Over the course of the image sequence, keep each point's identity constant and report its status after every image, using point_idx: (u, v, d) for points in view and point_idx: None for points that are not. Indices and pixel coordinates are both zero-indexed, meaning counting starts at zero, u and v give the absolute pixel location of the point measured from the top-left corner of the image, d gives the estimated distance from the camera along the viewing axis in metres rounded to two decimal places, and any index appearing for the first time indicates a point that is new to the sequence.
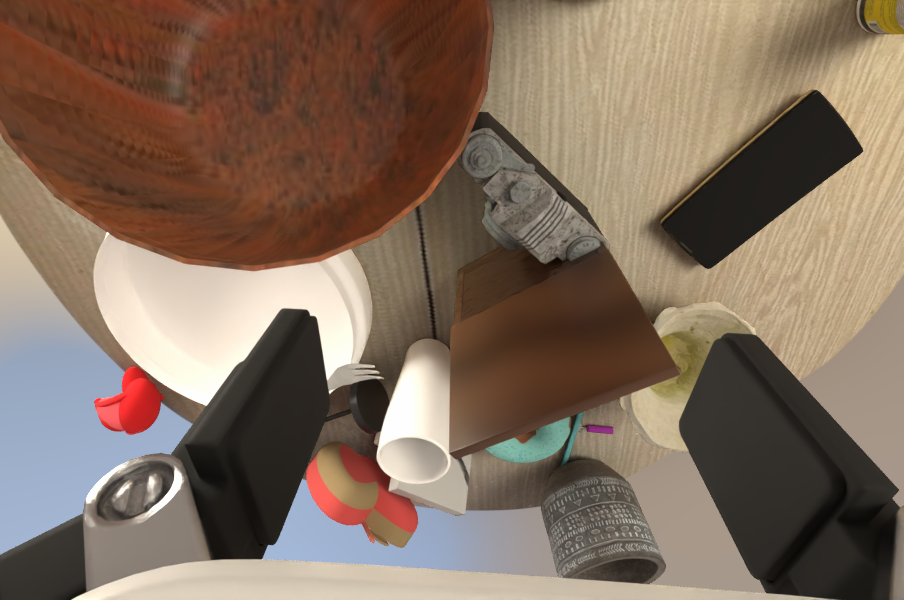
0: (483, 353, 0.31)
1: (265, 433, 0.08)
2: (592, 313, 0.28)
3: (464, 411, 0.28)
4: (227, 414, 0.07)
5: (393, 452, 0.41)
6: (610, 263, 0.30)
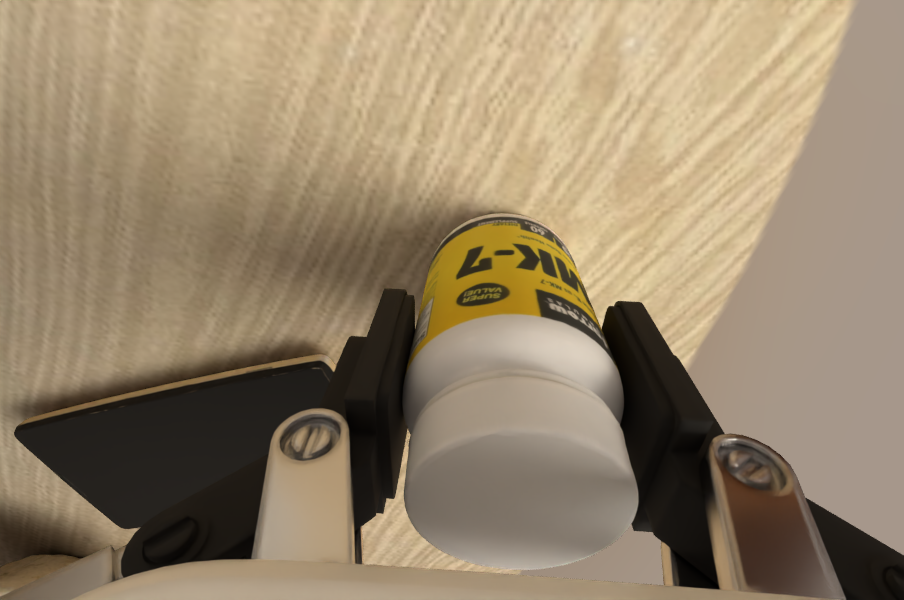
0: None
1: (395, 395, 0.08)
2: None
3: None
4: (371, 376, 0.08)
5: None
6: None
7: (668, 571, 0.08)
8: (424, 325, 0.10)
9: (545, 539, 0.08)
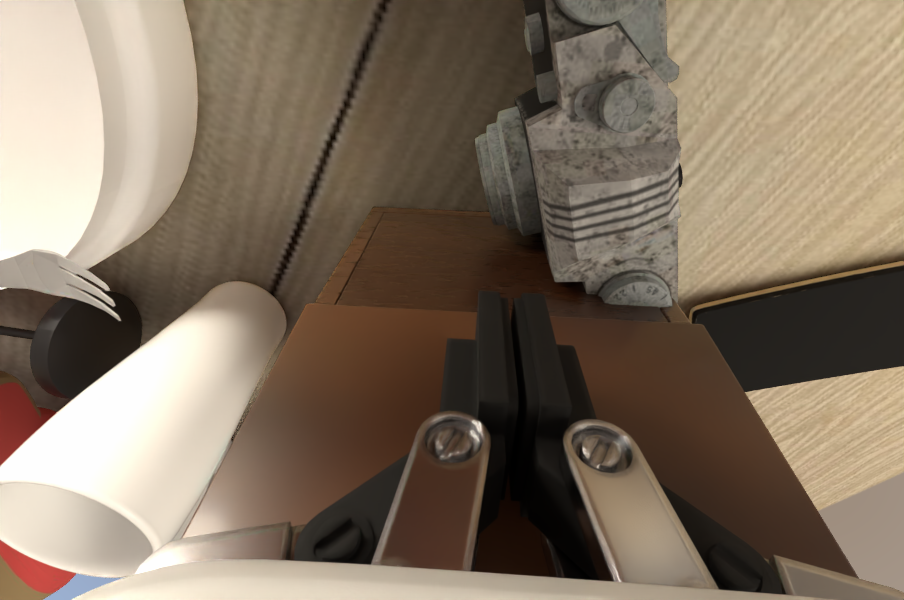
0: (355, 423, 0.11)
1: None
2: (680, 474, 0.10)
3: None
4: (497, 378, 0.08)
5: None
6: (713, 359, 0.13)
7: (553, 570, 0.08)
8: None
9: None
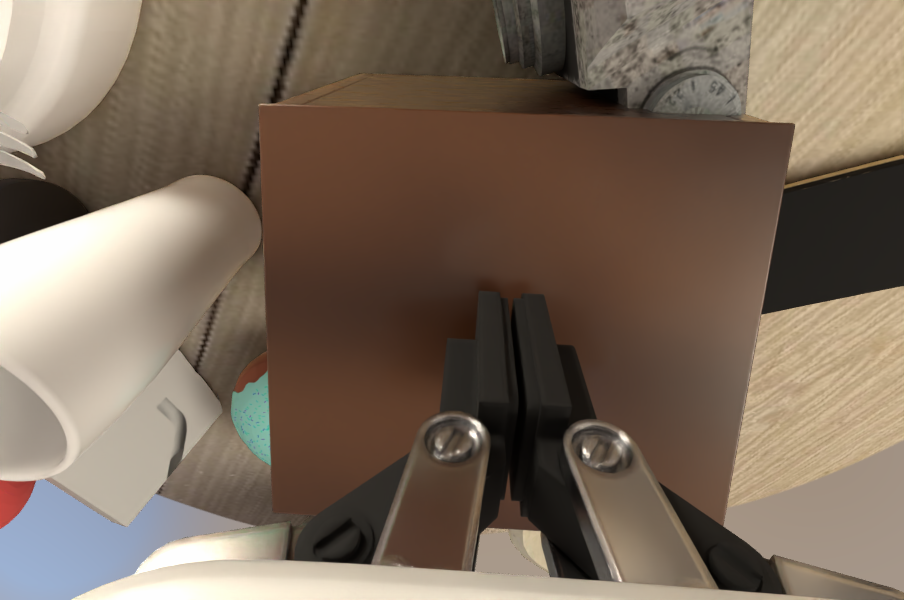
0: (366, 293, 0.12)
1: None
2: (654, 339, 0.12)
3: (308, 436, 0.13)
4: (497, 378, 0.08)
5: None
6: (768, 194, 0.11)
7: (553, 570, 0.08)
8: None
9: None
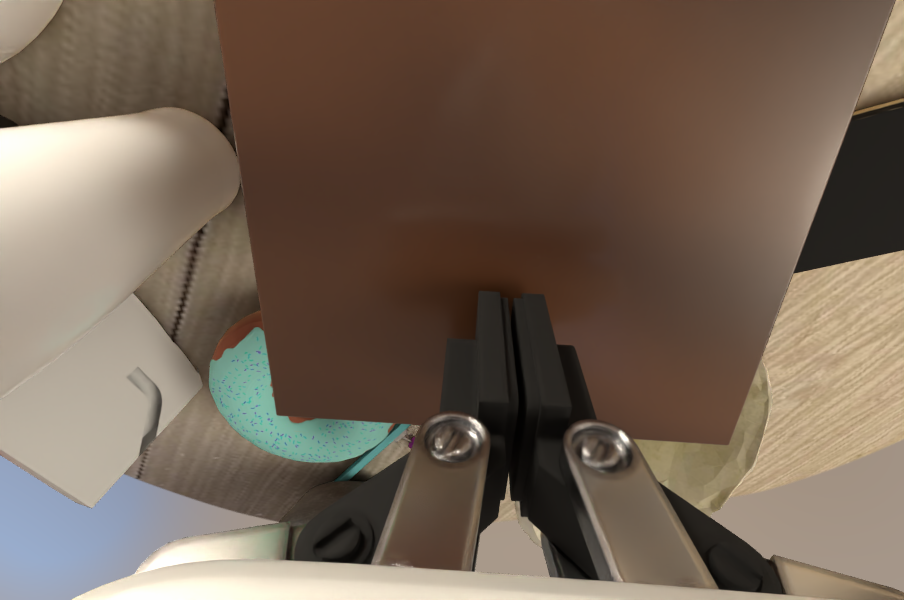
0: (358, 185, 0.10)
1: None
2: (688, 237, 0.10)
3: (305, 342, 0.12)
4: (497, 378, 0.08)
5: None
6: (858, 52, 0.09)
7: (553, 570, 0.08)
8: None
9: None
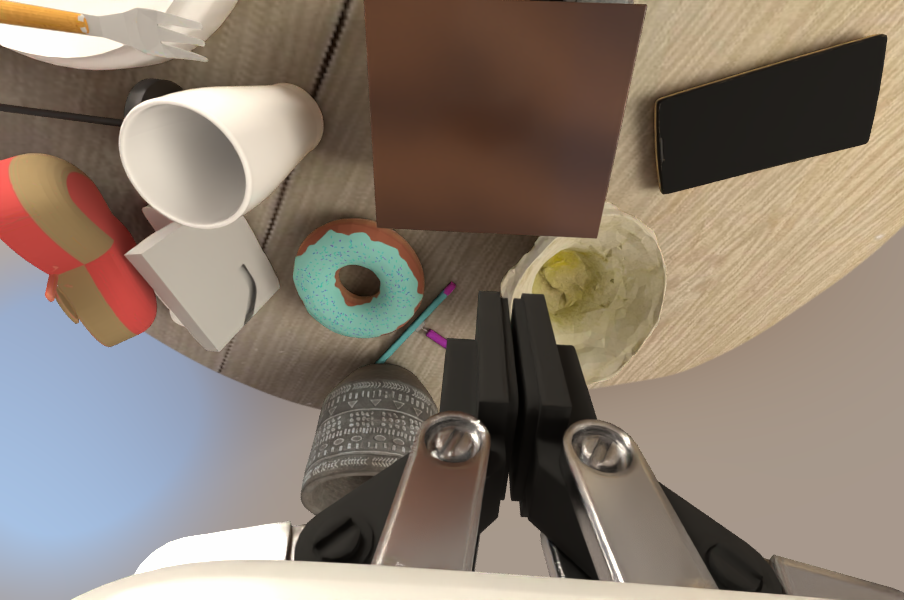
0: (422, 106, 0.23)
1: None
2: (568, 129, 0.23)
3: (394, 186, 0.26)
4: (497, 378, 0.08)
5: (159, 163, 0.24)
6: (631, 46, 0.21)
7: (553, 571, 0.08)
8: None
9: None
